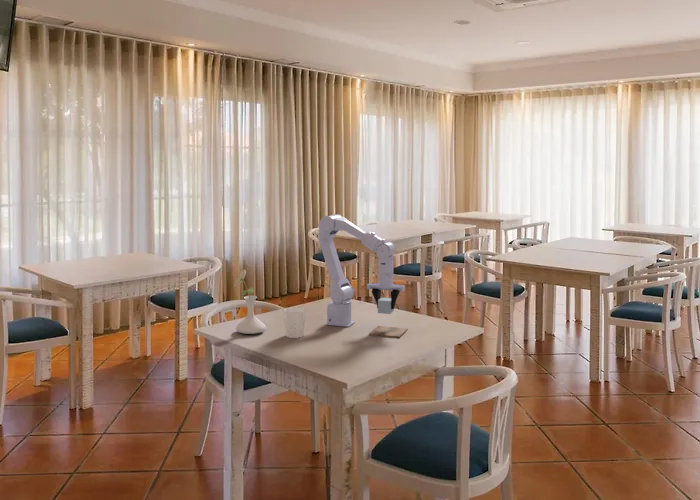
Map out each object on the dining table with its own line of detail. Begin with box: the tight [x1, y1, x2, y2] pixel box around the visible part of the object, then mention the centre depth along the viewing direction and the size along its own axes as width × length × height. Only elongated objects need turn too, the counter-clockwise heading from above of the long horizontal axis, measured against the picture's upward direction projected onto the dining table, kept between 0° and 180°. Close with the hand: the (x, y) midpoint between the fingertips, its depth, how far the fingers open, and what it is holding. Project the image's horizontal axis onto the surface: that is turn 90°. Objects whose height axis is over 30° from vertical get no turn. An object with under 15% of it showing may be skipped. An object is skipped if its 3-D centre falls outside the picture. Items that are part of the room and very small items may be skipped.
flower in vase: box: [233, 269, 267, 335], centre depth 240 cm, size 13×11×25 cm
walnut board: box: [368, 325, 409, 339], centre depth 242 cm, size 12×12×1 cm
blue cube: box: [377, 297, 395, 315], centre depth 245 cm, size 5×5×5 cm
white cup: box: [283, 307, 306, 339], centre depth 237 cm, size 8×8×10 cm
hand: (385, 308), depth 245 cm, fingers closed on blue cube, 5 cm apart
